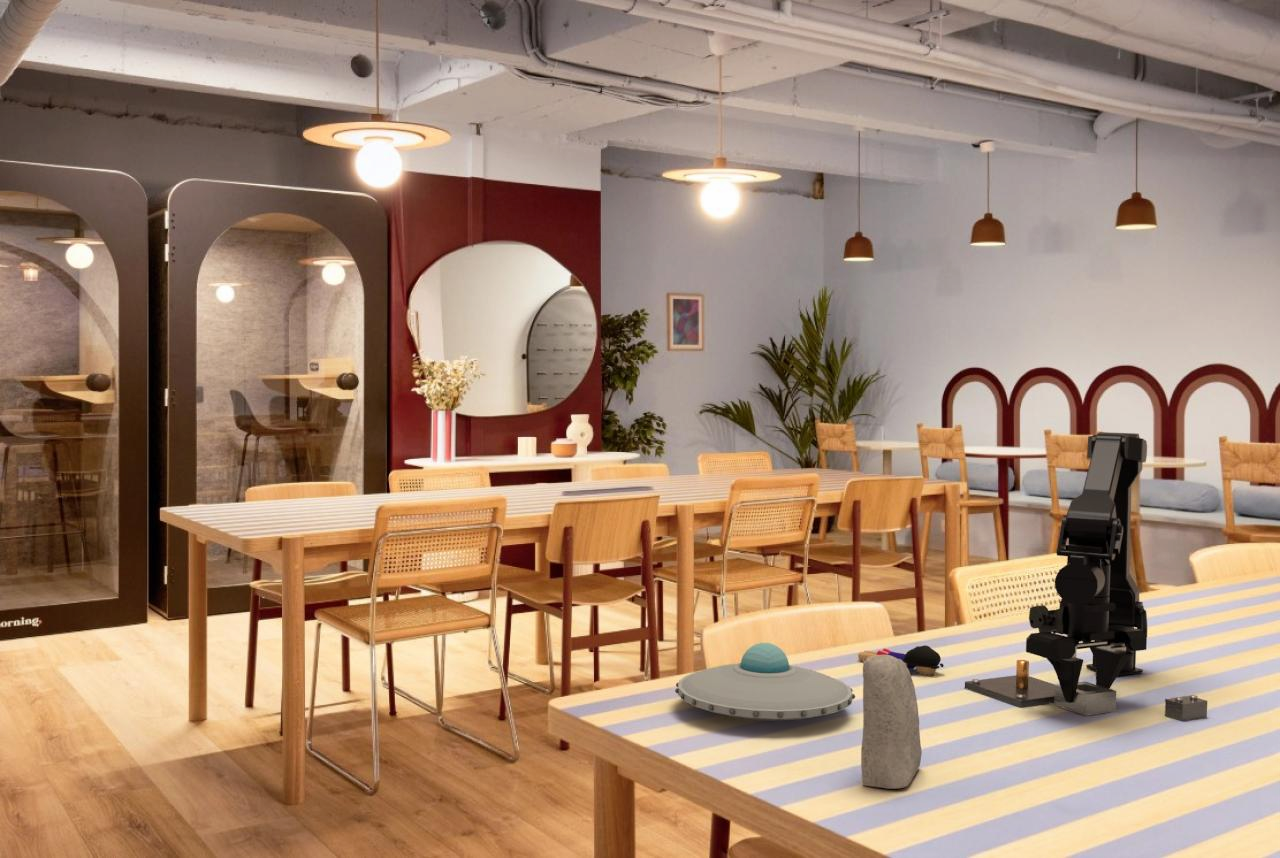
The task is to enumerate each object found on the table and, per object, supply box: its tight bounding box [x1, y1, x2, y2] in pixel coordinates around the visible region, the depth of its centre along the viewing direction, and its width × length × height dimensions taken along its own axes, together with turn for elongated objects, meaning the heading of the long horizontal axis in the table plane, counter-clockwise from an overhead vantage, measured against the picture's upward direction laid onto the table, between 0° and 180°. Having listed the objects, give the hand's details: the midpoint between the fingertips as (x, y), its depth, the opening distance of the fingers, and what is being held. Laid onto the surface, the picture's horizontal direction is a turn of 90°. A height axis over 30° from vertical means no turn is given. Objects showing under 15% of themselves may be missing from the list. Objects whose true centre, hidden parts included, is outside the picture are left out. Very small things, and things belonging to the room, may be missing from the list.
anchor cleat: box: [1164, 694, 1208, 722], centre depth 174 cm, size 5×3×3 cm, turn 116°
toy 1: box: [674, 642, 856, 721], centre depth 173 cm, size 26×26×10 cm
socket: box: [1053, 680, 1117, 716], centre depth 178 cm, size 6×6×3 cm
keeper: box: [964, 659, 1056, 708], centre depth 186 cm, size 12×12×5 cm
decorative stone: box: [860, 655, 922, 790], centre depth 146 cm, size 11×6×15 cm, turn 150°
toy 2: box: [857, 645, 944, 676], centre depth 201 cm, size 10×5×15 cm
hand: (1084, 699), depth 178 cm, fingers closed on socket, 6 cm apart
